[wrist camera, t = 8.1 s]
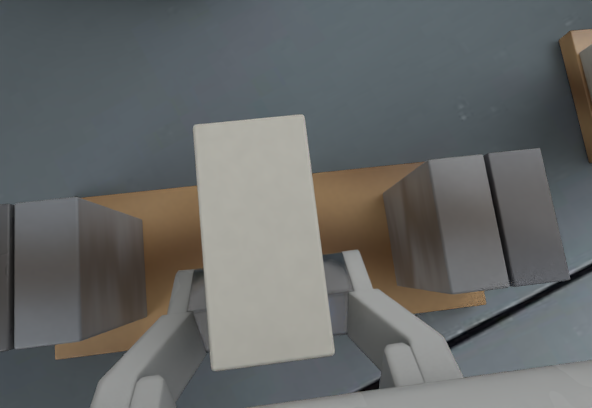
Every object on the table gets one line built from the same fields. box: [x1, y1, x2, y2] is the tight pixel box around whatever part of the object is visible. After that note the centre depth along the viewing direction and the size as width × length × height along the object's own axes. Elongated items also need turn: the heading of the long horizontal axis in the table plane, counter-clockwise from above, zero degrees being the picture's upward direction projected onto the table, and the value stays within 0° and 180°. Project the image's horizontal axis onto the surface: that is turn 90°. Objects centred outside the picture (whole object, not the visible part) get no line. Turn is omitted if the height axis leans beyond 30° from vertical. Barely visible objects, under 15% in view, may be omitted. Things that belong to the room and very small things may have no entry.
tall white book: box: [193, 114, 335, 371], centre depth 13 cm, size 5×2×10 cm, turn 7°
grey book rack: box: [0, 148, 570, 360], centre depth 17 cm, size 8×22×8 cm, turn 97°
